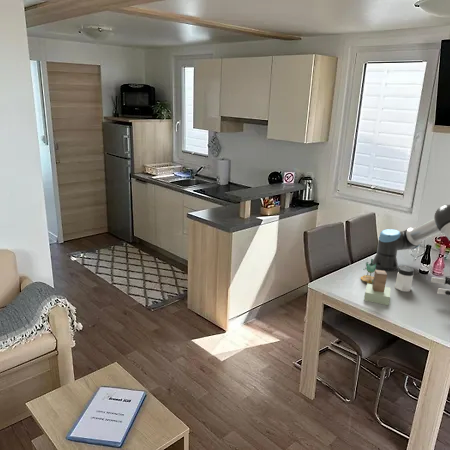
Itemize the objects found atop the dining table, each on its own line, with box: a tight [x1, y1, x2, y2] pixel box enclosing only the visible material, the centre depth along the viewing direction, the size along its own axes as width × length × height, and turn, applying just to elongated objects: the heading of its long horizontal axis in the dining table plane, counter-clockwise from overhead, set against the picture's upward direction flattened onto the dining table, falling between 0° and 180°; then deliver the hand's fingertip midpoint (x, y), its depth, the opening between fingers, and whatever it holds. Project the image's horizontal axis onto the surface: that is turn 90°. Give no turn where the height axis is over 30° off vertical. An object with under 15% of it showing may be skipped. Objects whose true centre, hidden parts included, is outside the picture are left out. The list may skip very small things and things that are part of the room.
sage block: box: [363, 282, 392, 306], centre depth 219 cm, size 12×12×5 cm
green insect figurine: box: [360, 258, 377, 284], centre depth 238 cm, size 10×18×15 cm, turn 164°
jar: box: [394, 265, 415, 292], centre depth 230 cm, size 9×8×12 cm
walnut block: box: [372, 269, 388, 292], centre depth 217 cm, size 5×5×10 cm
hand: (434, 285), depth 210 cm, fingers open, 13 cm apart
